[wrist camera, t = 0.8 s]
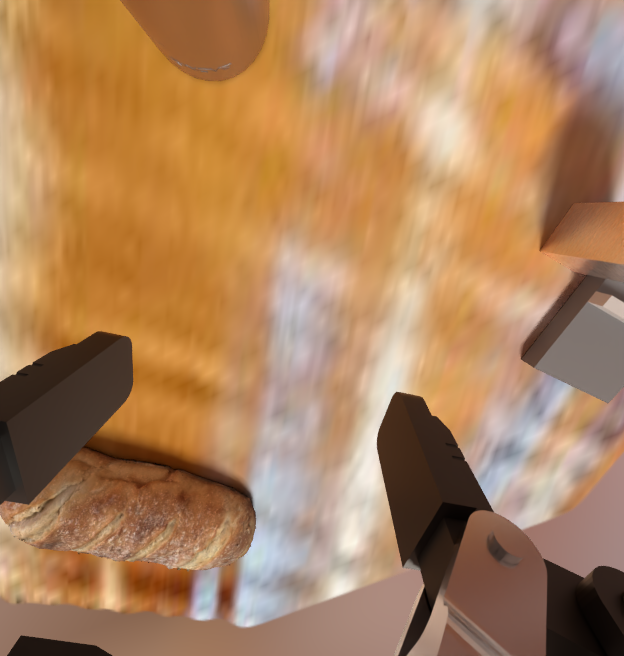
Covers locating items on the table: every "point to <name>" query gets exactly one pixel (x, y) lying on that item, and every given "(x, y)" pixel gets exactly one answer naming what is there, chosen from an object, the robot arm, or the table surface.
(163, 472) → the bread loaf
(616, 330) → the plate
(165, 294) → the table surface
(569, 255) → the block
